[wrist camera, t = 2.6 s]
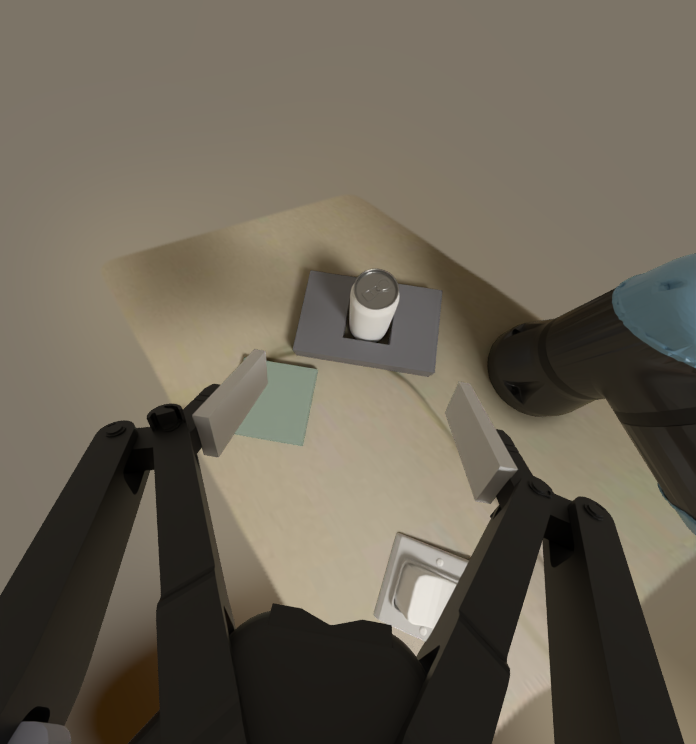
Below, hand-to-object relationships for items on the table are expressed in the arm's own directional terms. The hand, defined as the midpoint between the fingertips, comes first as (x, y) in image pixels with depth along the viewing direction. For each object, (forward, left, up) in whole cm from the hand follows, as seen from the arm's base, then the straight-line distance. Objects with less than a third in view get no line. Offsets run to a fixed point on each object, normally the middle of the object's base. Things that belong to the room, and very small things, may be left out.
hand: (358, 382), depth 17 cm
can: (-1, -14, -23) cm, 27 cm away
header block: (-1, -14, -23) cm, 27 cm away
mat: (+12, +1, -23) cm, 26 cm away
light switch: (-15, +23, -24) cm, 36 cm away
